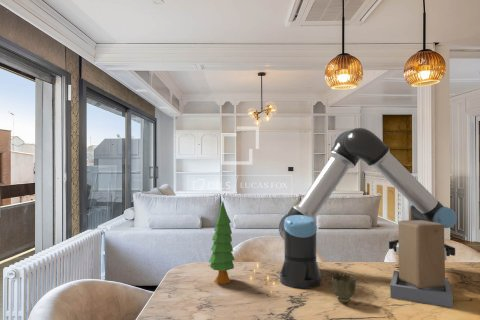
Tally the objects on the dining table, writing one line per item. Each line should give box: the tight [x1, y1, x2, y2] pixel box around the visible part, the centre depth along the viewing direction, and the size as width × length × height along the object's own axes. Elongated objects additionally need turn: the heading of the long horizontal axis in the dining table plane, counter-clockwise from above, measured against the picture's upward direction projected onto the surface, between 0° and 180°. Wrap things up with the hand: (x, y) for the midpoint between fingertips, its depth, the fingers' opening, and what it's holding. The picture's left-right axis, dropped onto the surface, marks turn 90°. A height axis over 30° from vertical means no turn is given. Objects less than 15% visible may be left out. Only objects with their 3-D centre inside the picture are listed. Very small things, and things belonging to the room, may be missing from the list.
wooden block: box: [397, 219, 446, 288], centre depth 110 cm, size 10×10×20 cm
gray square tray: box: [389, 270, 454, 309], centre depth 112 cm, size 17×17×4 cm
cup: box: [331, 272, 357, 305], centre depth 105 cm, size 8×7×8 cm
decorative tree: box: [208, 201, 235, 285], centre depth 125 cm, size 10×9×30 cm
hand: (420, 253), depth 110 cm, fingers closed on wooden block, 13 cm apart
